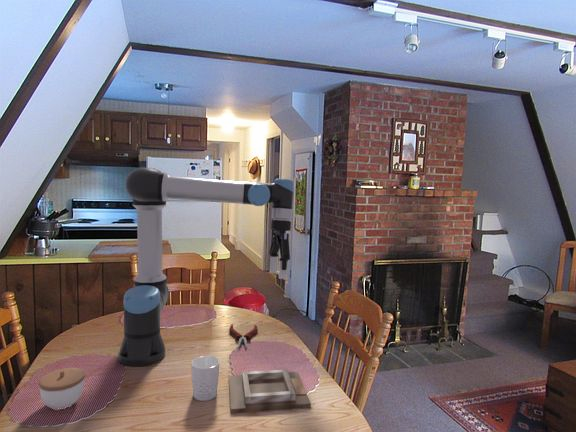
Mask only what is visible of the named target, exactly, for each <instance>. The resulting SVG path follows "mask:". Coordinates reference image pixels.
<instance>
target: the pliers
mask: <svg viewBox="0 0 576 432" xmlns="http://www.w3.org/2000/svg"><path fill="white" fill-rule="evenodd" d="M228 330H229V331H228V332H229V334H230V335H231V336H232V337H233V338H235V339H234V341H235V342H238V344H237V349H240V347H241V346H242V343H243V346H244V347H245V348H247V345H248V342H251V339H252V338H253V337H254V336H256V335H257V334H258V331H259V330H258V326H257V325H256V324H254V326H253V329H251V330H250V331H248V332H246V333H245V334H244V335H242V334H241V333H239V332H238V330H235V329H234V324H231V325H230V326H229V329H228Z"/></svg>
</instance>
